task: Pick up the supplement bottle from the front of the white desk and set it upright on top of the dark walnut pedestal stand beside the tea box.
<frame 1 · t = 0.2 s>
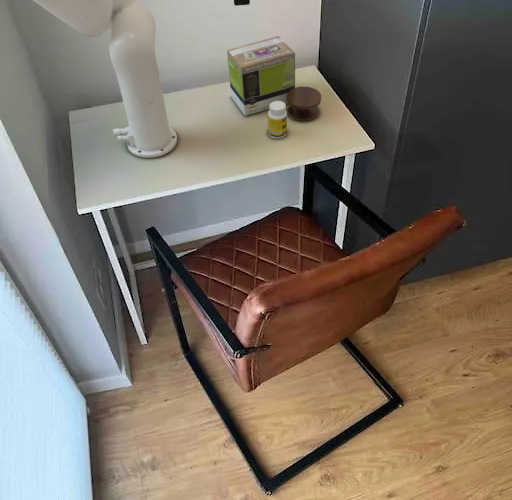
stand: (303, 112, 152), on the table
supplement bottle: (277, 133, 147), on the table
tea box: (262, 100, 157), on the table
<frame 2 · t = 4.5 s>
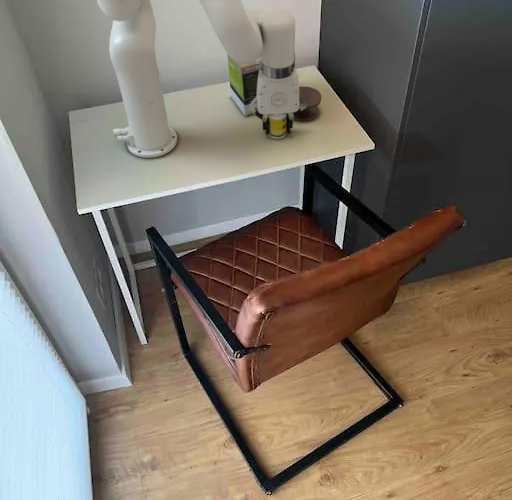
hand: (277, 130, 146), 1 cm above the table, tool pointing down, fingers closed on supplement bottle, 4 cm apart
supplement bottle: (277, 133, 147), on the table, touching gripper
everything else where it was.
when the fingers open (6 cm above the table, at t = 12.2 s): supplement bottle stays where it is, resting on stand.
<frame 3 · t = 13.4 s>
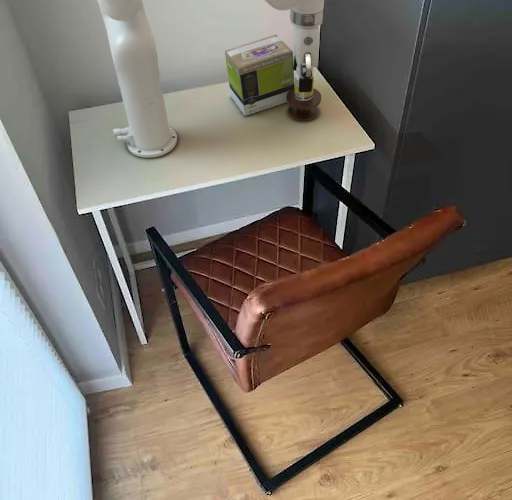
hand: (302, 80, 145), 10 cm above the table, tool pointing down, fingers open, 9 cm apart
supplement bottle: (303, 97, 149), point 5 cm above the table, touching stand
everything else where it was.
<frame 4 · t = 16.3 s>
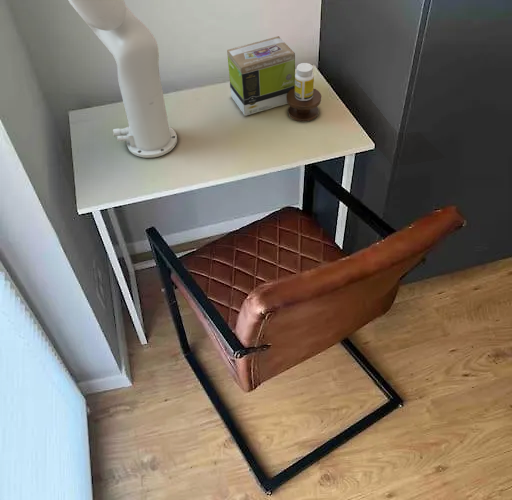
nothing on the table moved.
at the end: supplement bottle 0.0 cm off-centre on the stand, point 4.8 cm above the stand's base; supplement bottle tilted 0°; the gripper is holding nothing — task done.
